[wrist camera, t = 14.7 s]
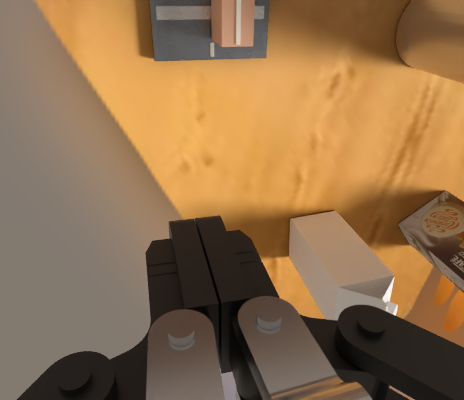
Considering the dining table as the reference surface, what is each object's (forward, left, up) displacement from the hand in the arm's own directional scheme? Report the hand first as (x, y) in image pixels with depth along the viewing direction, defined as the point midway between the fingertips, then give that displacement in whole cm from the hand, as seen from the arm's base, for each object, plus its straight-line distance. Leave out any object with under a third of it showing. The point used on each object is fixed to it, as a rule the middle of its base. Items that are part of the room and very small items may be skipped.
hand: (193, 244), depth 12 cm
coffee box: (-42, +26, -35) cm, 61 cm away
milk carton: (-22, +26, -35) cm, 49 cm away
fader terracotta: (-8, -4, -33) cm, 34 cm away
